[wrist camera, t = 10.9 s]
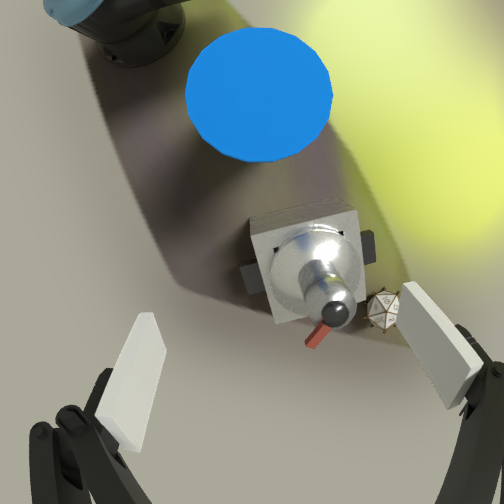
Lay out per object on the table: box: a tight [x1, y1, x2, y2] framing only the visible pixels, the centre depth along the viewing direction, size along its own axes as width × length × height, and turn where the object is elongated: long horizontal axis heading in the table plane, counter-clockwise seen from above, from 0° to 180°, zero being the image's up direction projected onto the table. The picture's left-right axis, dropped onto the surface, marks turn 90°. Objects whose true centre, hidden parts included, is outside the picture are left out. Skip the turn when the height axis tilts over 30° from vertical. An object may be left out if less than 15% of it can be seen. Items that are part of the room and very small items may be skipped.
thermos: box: [185, 28, 333, 162], centre depth 29 cm, size 11×11×25 cm
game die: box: [363, 287, 400, 335], centre depth 50 cm, size 9×8×10 cm
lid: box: [269, 227, 361, 349], centre depth 37 cm, size 13×13×14 cm
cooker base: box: [239, 196, 376, 324], centre depth 45 cm, size 15×21×9 cm
